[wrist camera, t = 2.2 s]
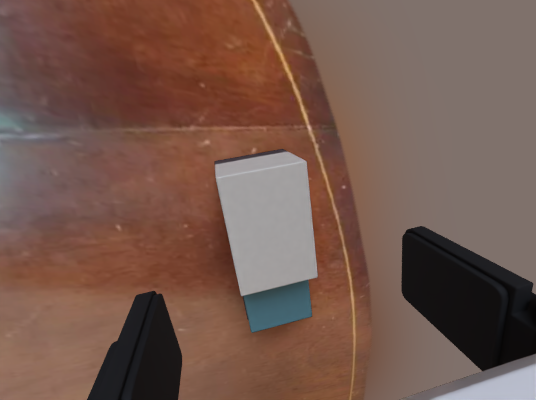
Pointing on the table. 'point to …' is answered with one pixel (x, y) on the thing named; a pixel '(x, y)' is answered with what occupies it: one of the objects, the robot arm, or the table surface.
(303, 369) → the table surface
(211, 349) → the table surface
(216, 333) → the table surface
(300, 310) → the two-tone stepped block
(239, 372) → the table surface
